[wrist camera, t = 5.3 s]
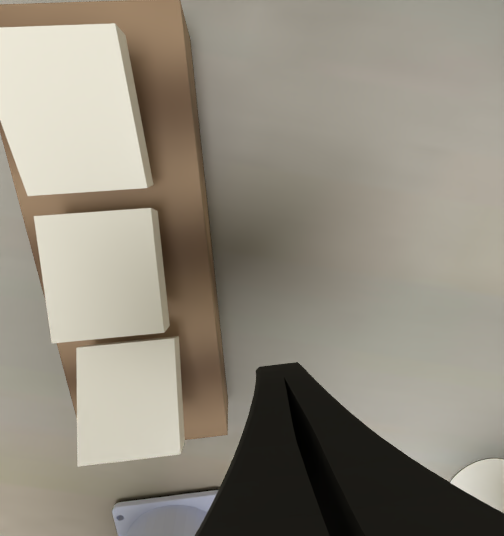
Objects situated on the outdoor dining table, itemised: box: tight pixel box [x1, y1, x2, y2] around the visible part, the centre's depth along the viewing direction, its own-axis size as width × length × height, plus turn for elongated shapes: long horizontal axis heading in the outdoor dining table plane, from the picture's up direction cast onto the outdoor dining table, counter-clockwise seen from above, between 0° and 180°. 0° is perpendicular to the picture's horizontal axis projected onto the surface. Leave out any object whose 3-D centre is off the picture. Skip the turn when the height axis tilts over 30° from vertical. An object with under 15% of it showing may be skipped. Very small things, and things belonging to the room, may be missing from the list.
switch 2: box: [34, 208, 170, 343], centre depth 12 cm, size 5×4×1 cm
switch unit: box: [0, 0, 228, 440], centre depth 14 cm, size 21×8×4 cm, turn 4°
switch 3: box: [76, 336, 185, 467], centre depth 13 cm, size 5×4×1 cm
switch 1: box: [0, 23, 153, 196], centre depth 10 cm, size 5×4×1 cm
